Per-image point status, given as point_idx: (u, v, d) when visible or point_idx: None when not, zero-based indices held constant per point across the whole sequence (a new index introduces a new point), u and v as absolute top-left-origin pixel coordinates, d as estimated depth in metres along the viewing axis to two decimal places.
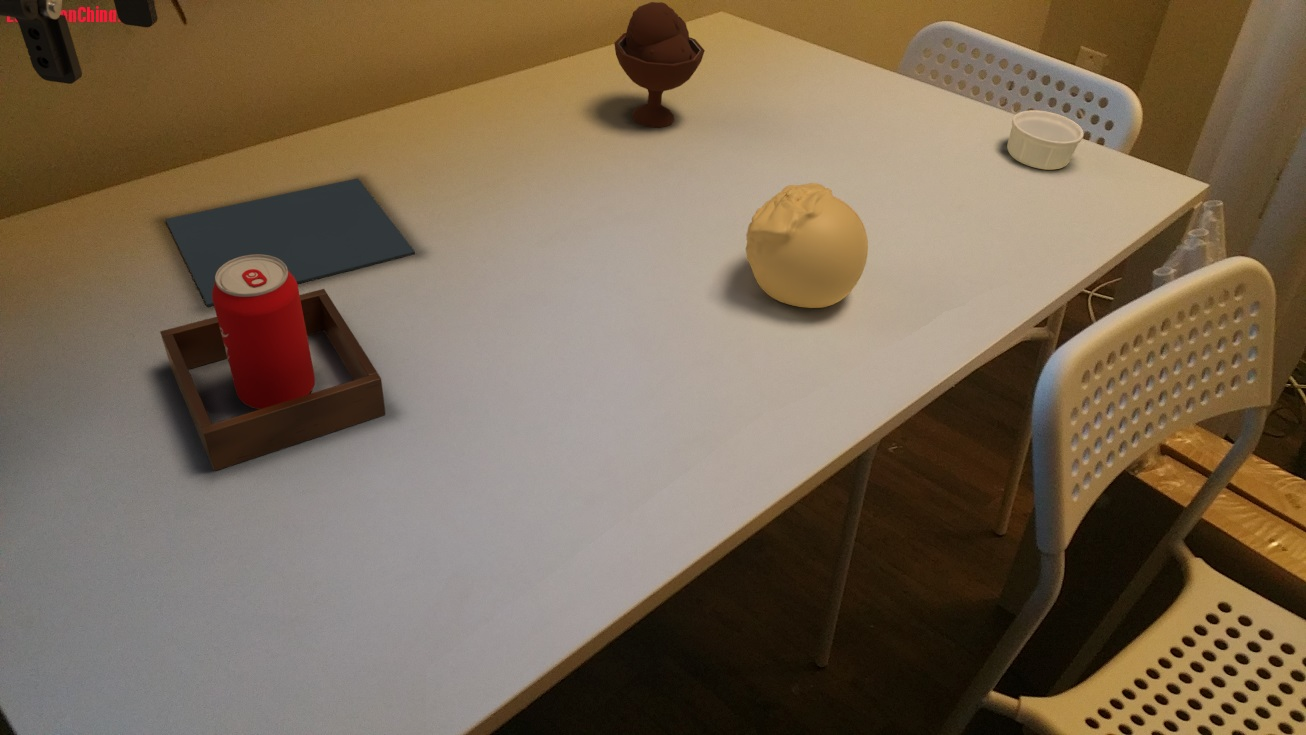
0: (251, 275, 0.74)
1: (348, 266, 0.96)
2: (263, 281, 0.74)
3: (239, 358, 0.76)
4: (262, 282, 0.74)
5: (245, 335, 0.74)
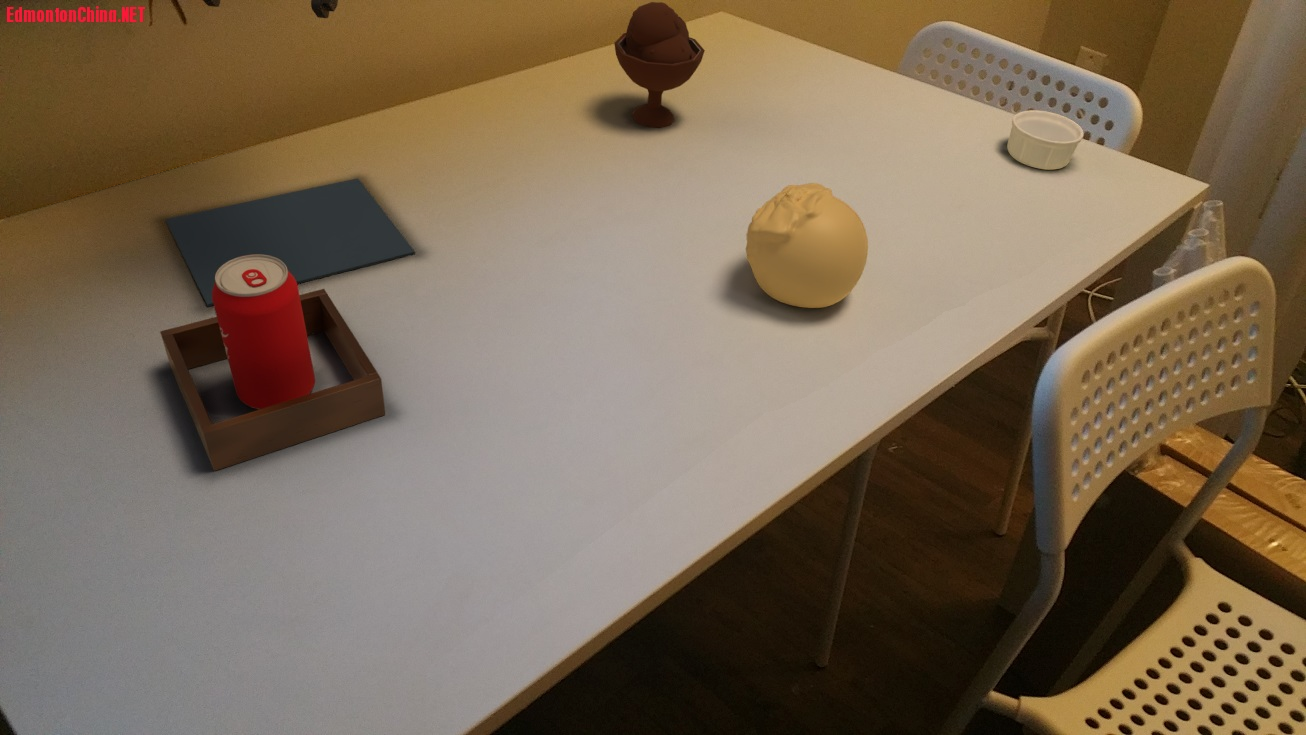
0: (250, 275, 0.74)
1: (348, 266, 0.96)
2: (263, 281, 0.74)
3: (239, 358, 0.76)
4: (262, 282, 0.74)
5: (245, 335, 0.74)
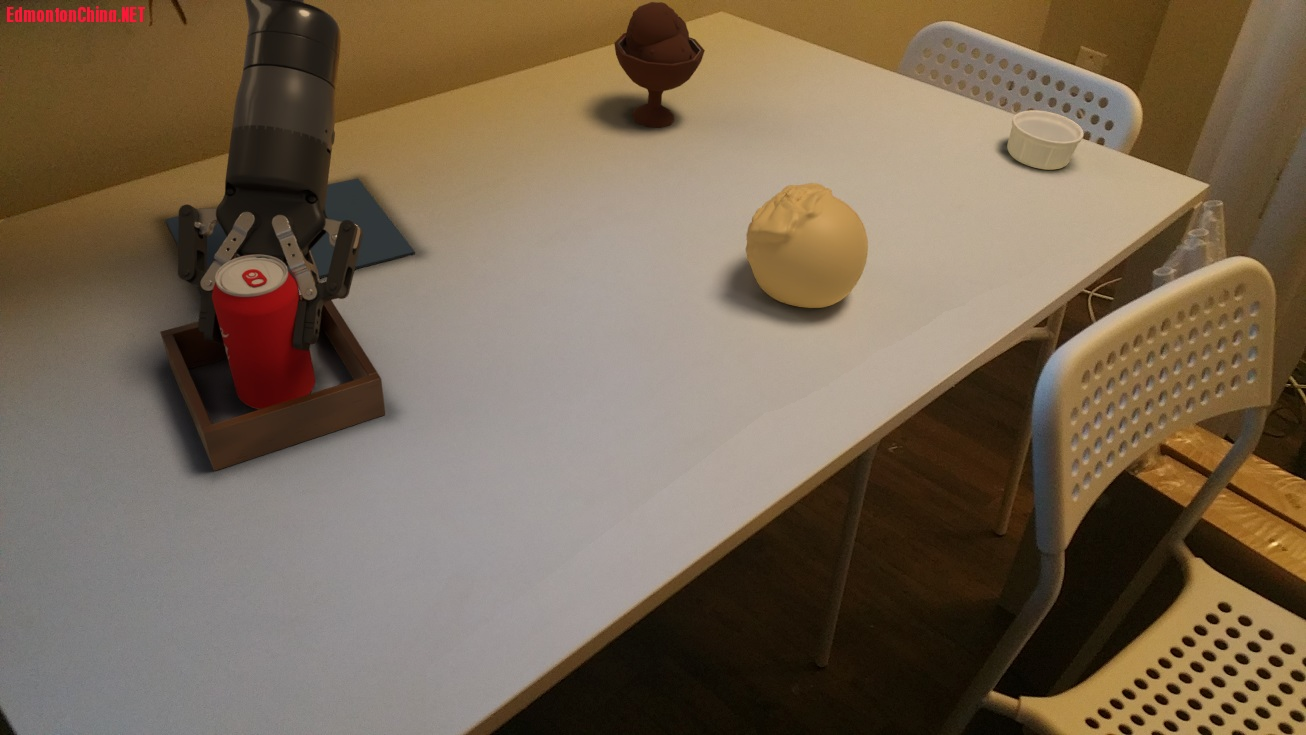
0: (251, 275, 0.74)
1: None
2: (263, 281, 0.74)
3: (239, 358, 0.76)
4: (262, 282, 0.74)
5: (245, 335, 0.74)
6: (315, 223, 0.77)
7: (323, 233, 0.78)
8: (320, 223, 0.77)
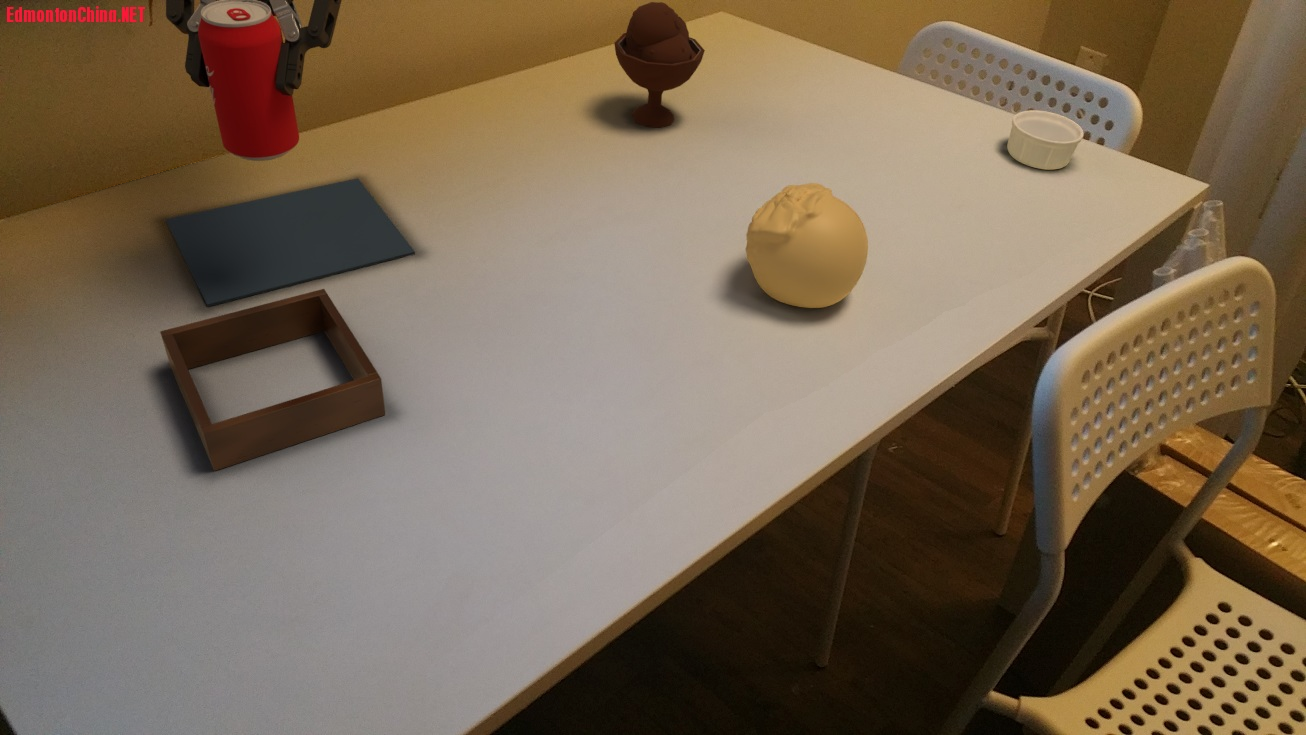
0: (235, 12, 0.77)
1: (348, 266, 0.96)
2: (247, 16, 0.77)
3: (224, 98, 0.79)
4: (246, 17, 0.77)
5: (230, 70, 0.77)
6: None
7: None
8: None
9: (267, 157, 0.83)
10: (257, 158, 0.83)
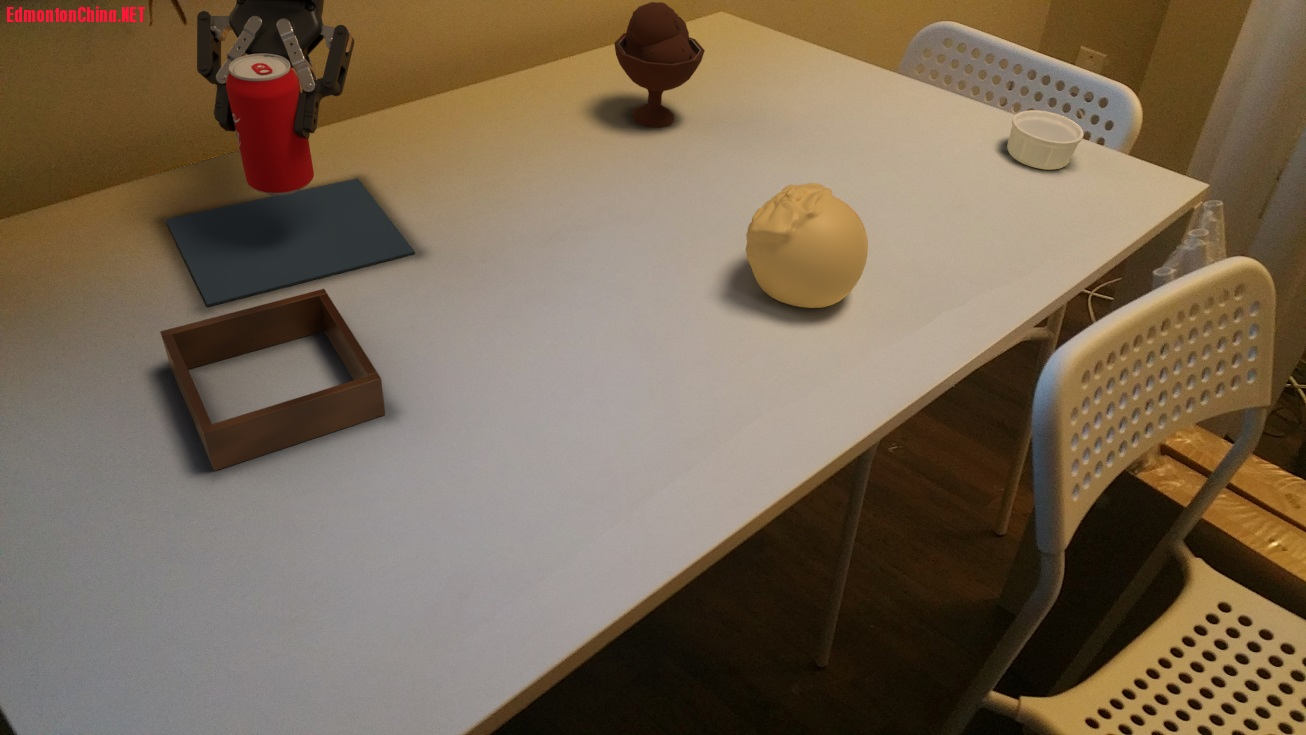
0: (259, 67, 0.88)
1: (348, 266, 0.96)
2: (269, 71, 0.87)
3: (249, 142, 0.90)
4: (268, 71, 0.87)
5: (254, 118, 0.88)
6: (313, 27, 0.90)
7: (320, 39, 0.92)
8: (318, 28, 0.90)
9: (285, 192, 0.93)
10: (277, 193, 0.93)
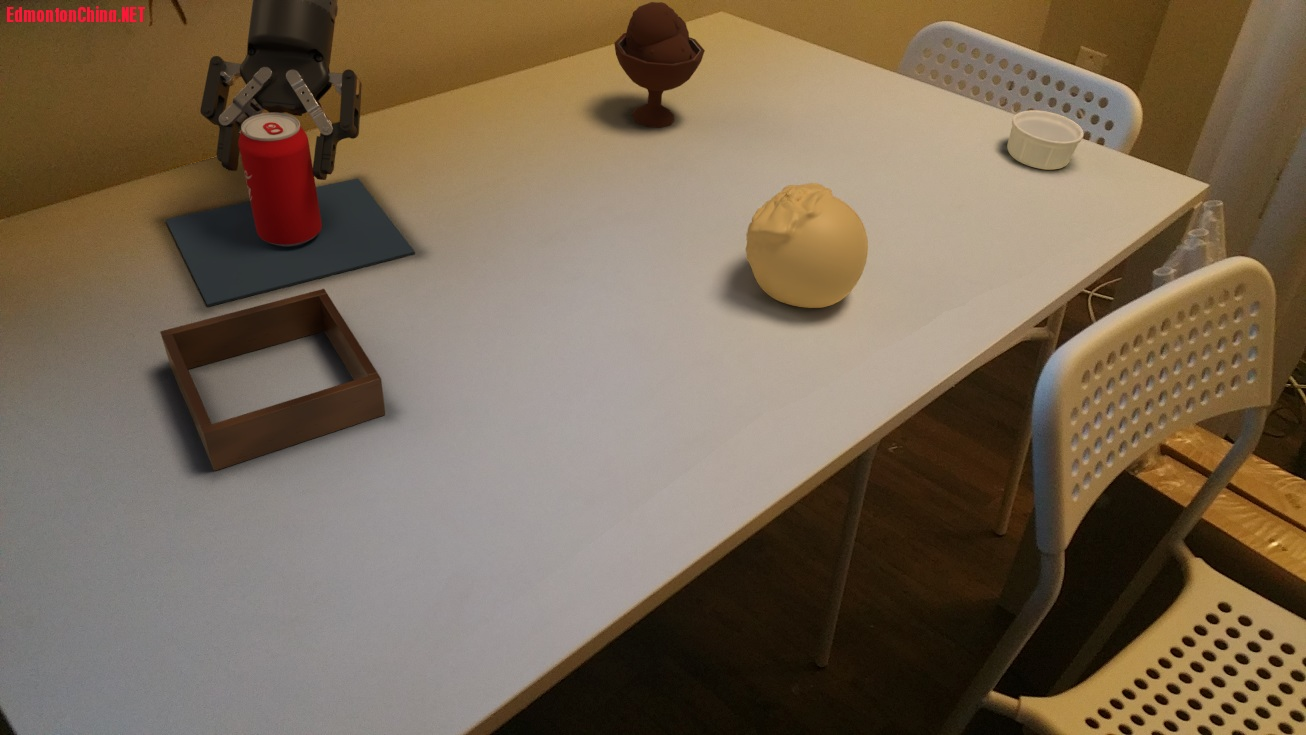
0: (270, 126, 0.92)
1: (348, 266, 0.96)
2: (280, 130, 0.91)
3: (260, 197, 0.93)
4: (279, 131, 0.91)
5: (265, 175, 0.92)
6: (322, 77, 0.93)
7: (328, 88, 0.95)
8: (326, 76, 0.94)
9: (295, 244, 0.97)
10: (286, 245, 0.97)
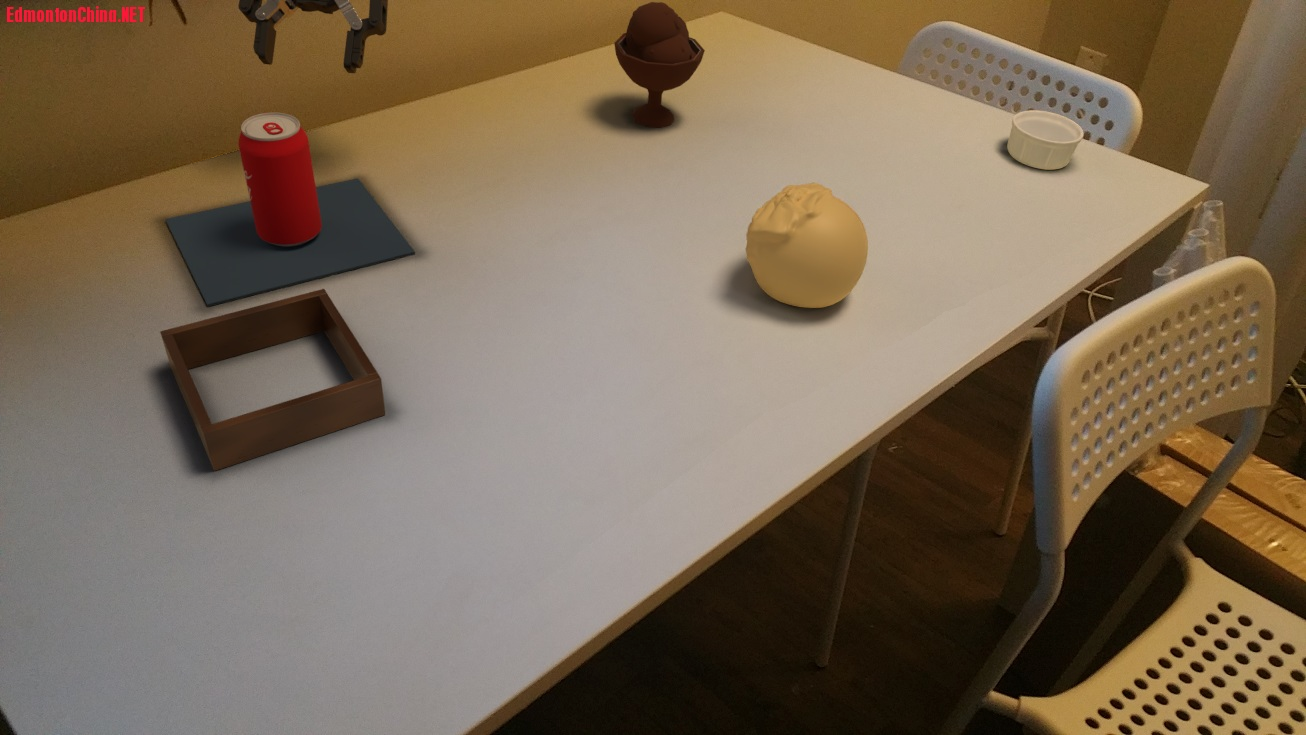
0: (270, 126, 0.92)
1: (348, 266, 0.96)
2: (280, 130, 0.91)
3: (260, 197, 0.93)
4: (279, 131, 0.91)
5: (265, 175, 0.92)
6: None
7: None
8: None
9: (295, 244, 0.97)
10: (286, 245, 0.97)
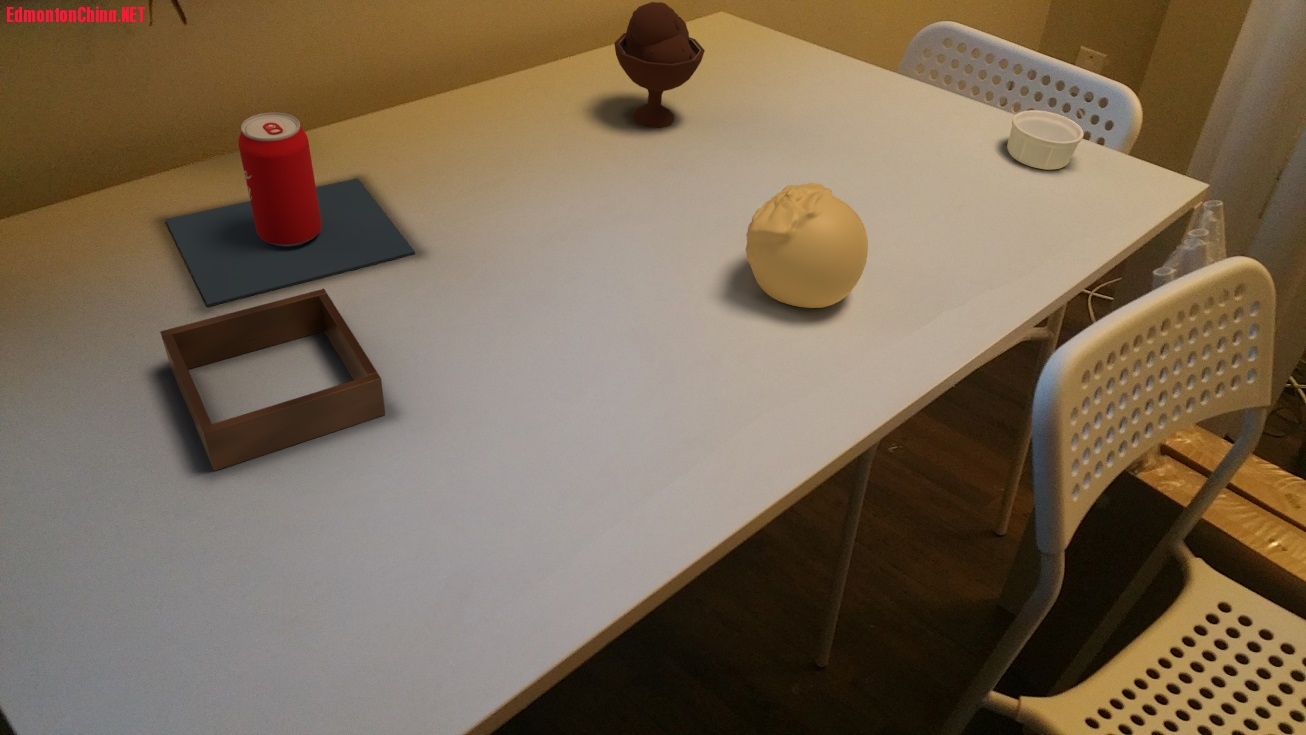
0: (270, 126, 0.92)
1: (348, 266, 0.96)
2: (280, 130, 0.91)
3: (260, 197, 0.93)
4: (279, 131, 0.91)
5: (265, 175, 0.92)
6: None
7: None
8: None
9: (295, 244, 0.97)
10: (286, 245, 0.97)
